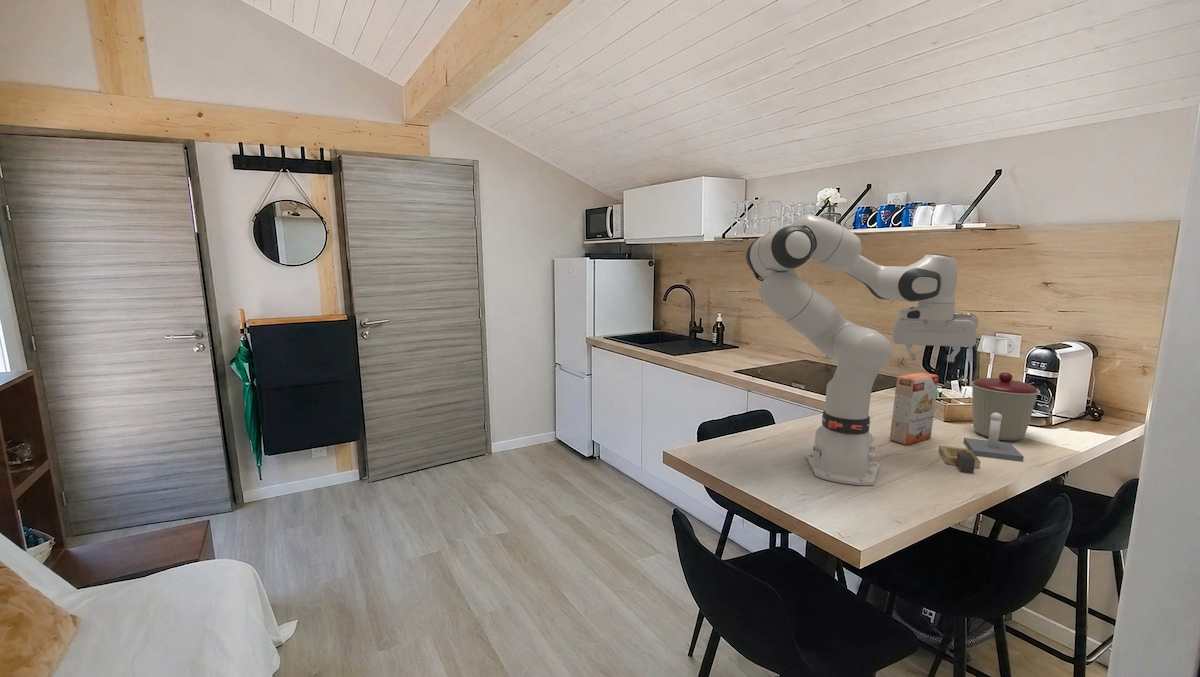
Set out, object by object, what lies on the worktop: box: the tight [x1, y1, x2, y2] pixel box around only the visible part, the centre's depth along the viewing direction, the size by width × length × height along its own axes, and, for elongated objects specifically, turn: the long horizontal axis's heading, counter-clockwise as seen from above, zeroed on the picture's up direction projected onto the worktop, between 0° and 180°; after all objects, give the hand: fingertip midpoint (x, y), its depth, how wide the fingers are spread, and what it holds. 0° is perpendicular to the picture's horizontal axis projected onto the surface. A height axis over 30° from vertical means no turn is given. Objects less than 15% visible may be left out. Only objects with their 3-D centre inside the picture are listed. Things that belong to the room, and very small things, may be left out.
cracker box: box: [889, 371, 940, 446], centre depth 169 cm, size 14×6×21 cm, turn 121°
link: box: [937, 445, 981, 474], centre depth 152 cm, size 15×8×4 cm, turn 158°
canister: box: [969, 372, 1041, 442], centre depth 174 cm, size 18×18×21 cm
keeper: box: [963, 413, 1024, 462], centre depth 160 cm, size 12×12×12 cm
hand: (931, 360), depth 153 cm, fingers open, 8 cm apart
